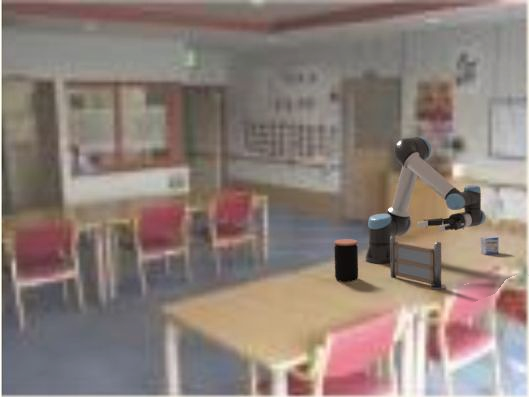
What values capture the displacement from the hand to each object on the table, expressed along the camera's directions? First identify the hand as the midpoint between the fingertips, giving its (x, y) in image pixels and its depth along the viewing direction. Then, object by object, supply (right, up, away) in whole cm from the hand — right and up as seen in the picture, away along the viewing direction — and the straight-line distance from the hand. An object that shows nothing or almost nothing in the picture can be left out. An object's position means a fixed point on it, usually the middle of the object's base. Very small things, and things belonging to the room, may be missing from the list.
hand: (428, 227), depth 317 cm
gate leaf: (-7, -24, -2) cm, 25 cm away
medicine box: (+44, -16, +49) cm, 68 cm away
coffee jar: (-36, -25, +9) cm, 45 cm away
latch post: (-14, -24, +9) cm, 29 cm away
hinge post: (+1, -26, -12) cm, 29 cm away
